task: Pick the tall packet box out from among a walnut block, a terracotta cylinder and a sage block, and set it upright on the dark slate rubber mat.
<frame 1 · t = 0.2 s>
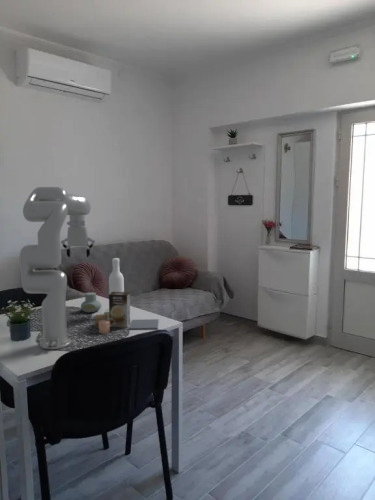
hand: (78, 256, 204), 31 cm above the table, tool pointing down, fingers open, 9 cm apart
coffee box: (119, 325, 189), on the table
terracotta cylinder: (104, 332, 180), on the table
air freshener: (91, 311, 214), on the table
bottle: (117, 314, 209), on the table
slate mat: (144, 325, 189), on the table
sage block: (110, 320, 198), on the table
walnut block: (101, 326, 189), on the table
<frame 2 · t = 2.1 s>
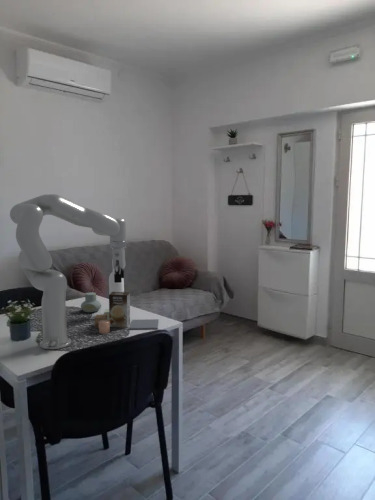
hand: (119, 280, 186), 22 cm above the table, tool pointing down, fingers open, 9 cm apart
nothing on the table moved.
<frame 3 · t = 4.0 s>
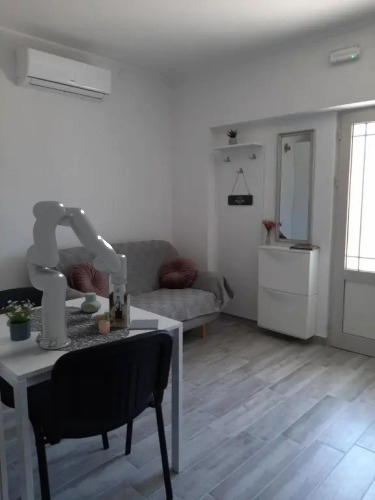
hand: (119, 315, 188), 5 cm above the table, tool pointing down, fingers closed on coffee box, 6 cm apart
coffee box: (119, 325, 189), on the table, touching gripper
everything else where it was.
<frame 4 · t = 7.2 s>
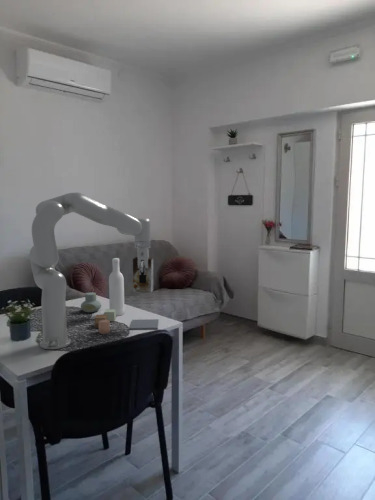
hand: (143, 281, 187), 22 cm above the table, tool pointing down, fingers closed on coffee box, 6 cm apart
coffee box: (143, 291, 187), point 17 cm above the table, touching gripper
everything else where it was.
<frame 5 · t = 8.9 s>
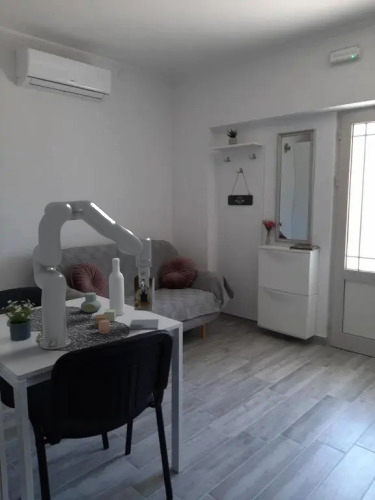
hand: (144, 299, 188), 13 cm above the table, tool pointing down, fingers closed on coffee box, 6 cm apart
coffee box: (144, 309, 189), point 8 cm above the table, touching gripper
everything else where it was.
when the fingers open (7 cm above the table, at t = 10.6 s): coffee box drops 1 cm, resting on slate mat.
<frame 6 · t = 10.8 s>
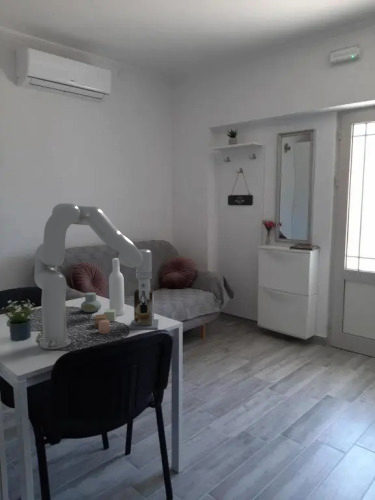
hand: (144, 310, 189), 7 cm above the table, tool pointing down, fingers open, 9 cm apart
coffee box: (144, 323, 189), point 1 cm above the table, touching slate mat
everything else where it was.
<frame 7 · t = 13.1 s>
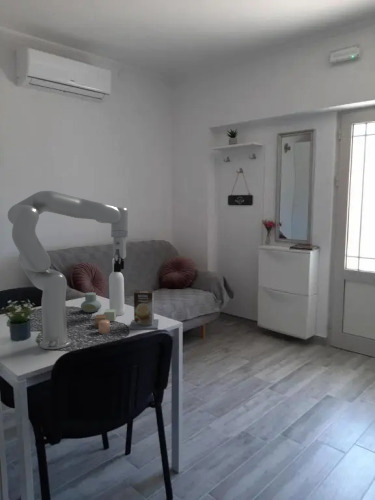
hand: (118, 270, 182), 28 cm above the table, tool pointing down, fingers open, 9 cm apart
nothing on the table moved.
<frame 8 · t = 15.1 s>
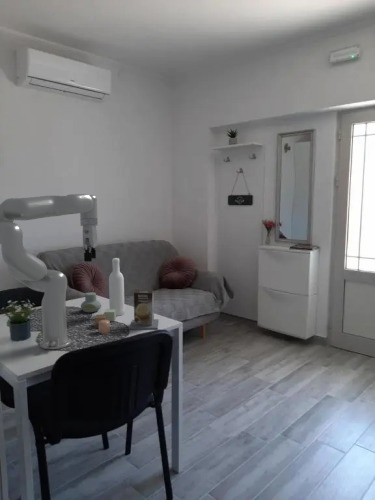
hand: (90, 259, 178), 33 cm above the table, tool pointing down, fingers open, 9 cm apart
nothing on the table moved.
at the end: coffee box inside the target area on the slate mat (0.2 cm from its centre), point 0.6 cm above the slate mat's base; coffee box tilted 0°; the gripper is holding nothing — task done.
